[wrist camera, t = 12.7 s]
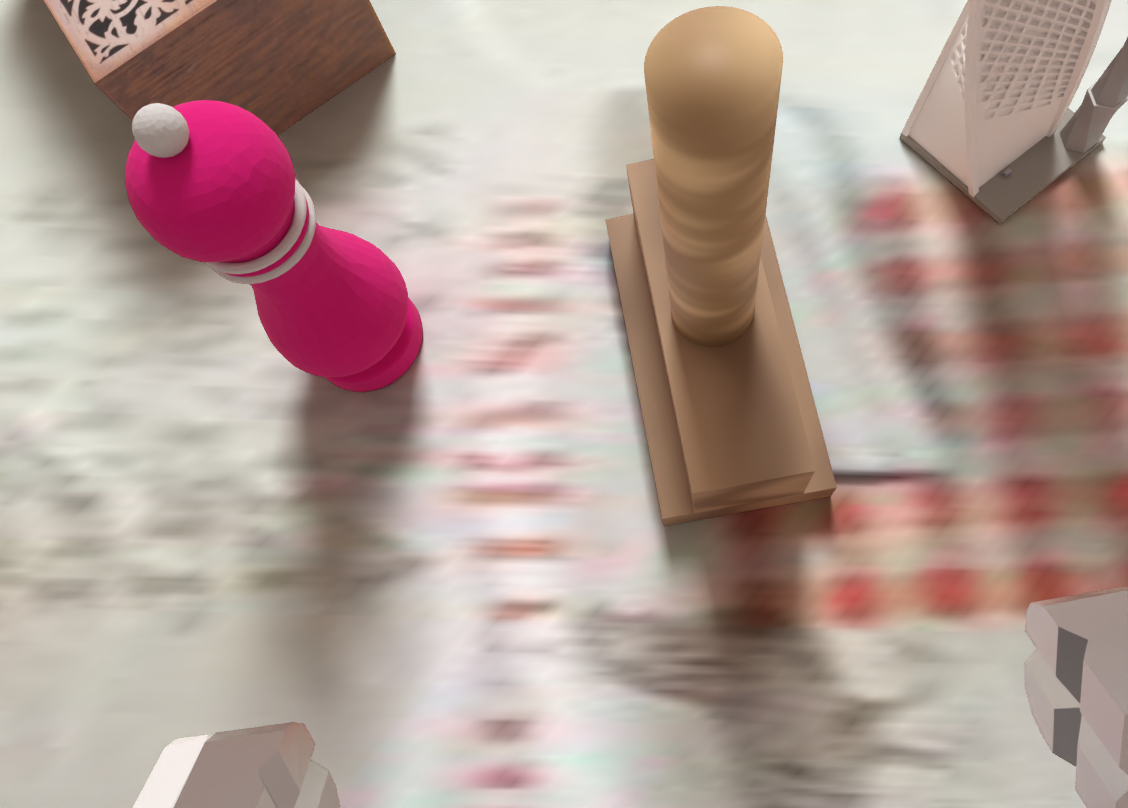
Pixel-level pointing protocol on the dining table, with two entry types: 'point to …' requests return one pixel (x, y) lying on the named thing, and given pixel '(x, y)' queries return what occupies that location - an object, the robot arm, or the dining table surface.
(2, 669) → the dining table surface
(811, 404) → the stepped base
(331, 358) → the pepper mill
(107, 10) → the tissue box cover
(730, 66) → the dowel
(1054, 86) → the skyscraper
